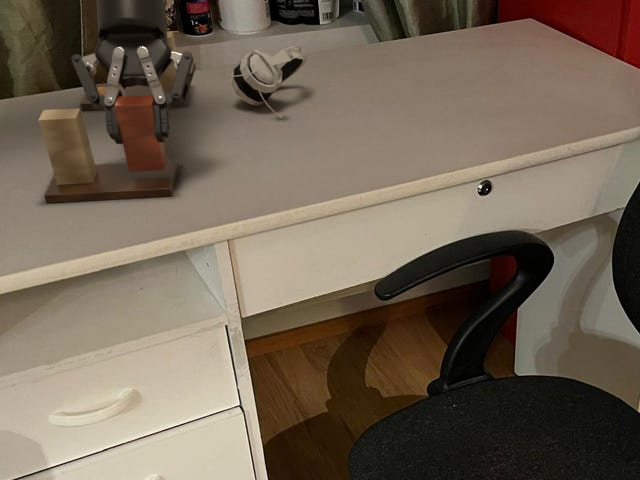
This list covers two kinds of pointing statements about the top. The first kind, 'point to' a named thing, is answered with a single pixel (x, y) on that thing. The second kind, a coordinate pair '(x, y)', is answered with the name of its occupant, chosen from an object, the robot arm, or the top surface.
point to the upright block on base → (139, 90)
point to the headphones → (264, 74)
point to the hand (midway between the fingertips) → (139, 139)
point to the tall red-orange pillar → (139, 133)
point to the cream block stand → (93, 166)
